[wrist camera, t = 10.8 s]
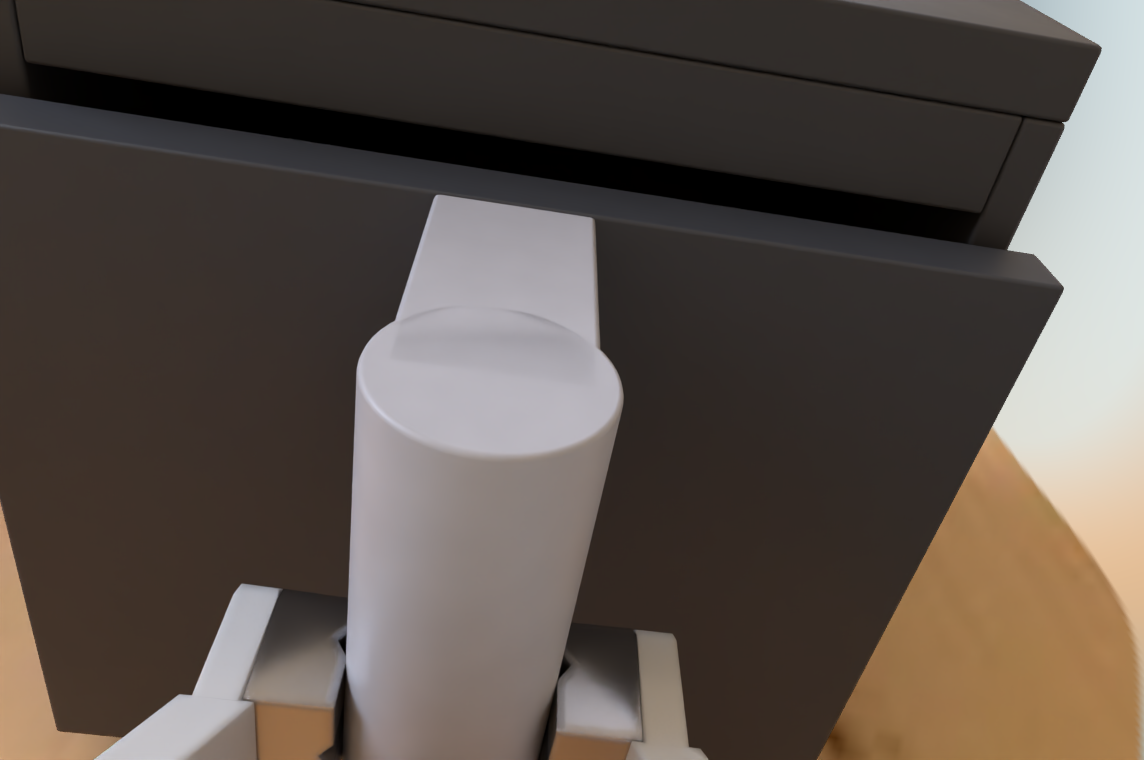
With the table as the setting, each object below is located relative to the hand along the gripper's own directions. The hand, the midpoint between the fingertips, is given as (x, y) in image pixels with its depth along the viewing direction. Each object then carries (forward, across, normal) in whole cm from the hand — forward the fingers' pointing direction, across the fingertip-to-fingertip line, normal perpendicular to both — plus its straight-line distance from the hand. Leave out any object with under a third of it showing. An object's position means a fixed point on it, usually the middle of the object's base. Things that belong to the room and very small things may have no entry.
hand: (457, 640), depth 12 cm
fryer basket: (+8, 0, -7) cm, 11 cm away
